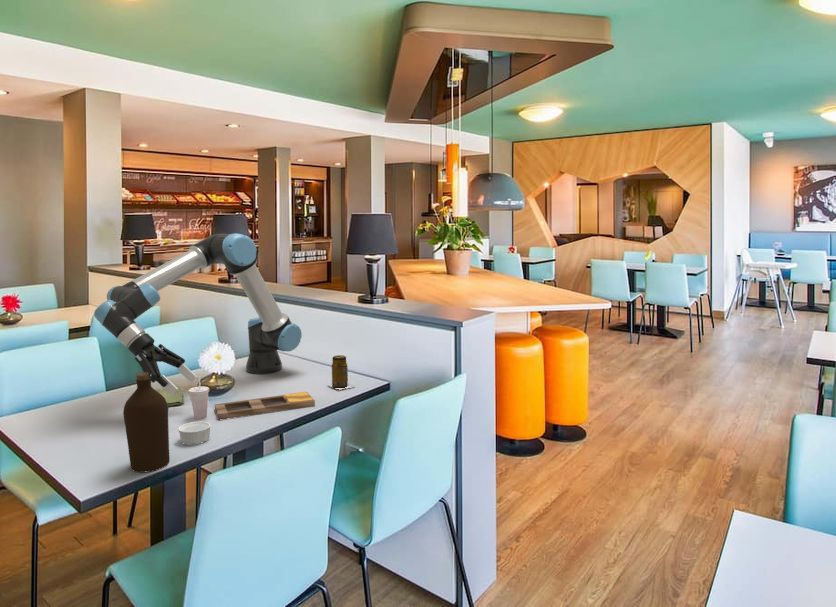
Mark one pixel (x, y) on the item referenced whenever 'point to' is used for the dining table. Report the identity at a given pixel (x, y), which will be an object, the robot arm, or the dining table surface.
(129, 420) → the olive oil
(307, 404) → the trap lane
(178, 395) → the washcloth
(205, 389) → the smoothie
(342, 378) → the condiment
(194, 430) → the ramekin
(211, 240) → the robot arm
